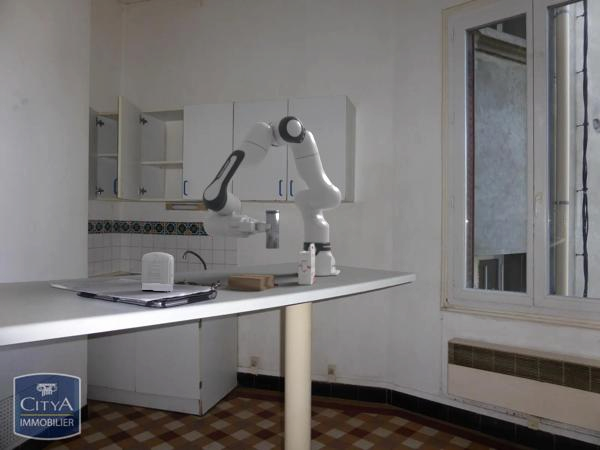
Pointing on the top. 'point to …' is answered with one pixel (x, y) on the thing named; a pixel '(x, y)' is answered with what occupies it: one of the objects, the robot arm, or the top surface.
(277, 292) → the top surface
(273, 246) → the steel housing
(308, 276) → the ink cartridge box
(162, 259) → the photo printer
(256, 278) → the walnut plinth
